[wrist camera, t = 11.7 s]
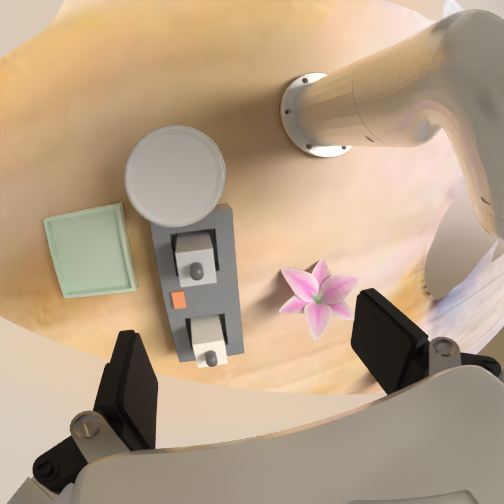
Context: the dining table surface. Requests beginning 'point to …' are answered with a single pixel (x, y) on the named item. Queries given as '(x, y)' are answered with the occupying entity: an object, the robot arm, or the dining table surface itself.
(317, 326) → the lily
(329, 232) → the dining table surface
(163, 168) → the coffee cup
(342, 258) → the dining table surface
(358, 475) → the robot arm
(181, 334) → the power strip
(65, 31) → the dining table surface
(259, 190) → the dining table surface
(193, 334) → the cream plug
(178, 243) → the grey twin plug
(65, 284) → the sage tray
